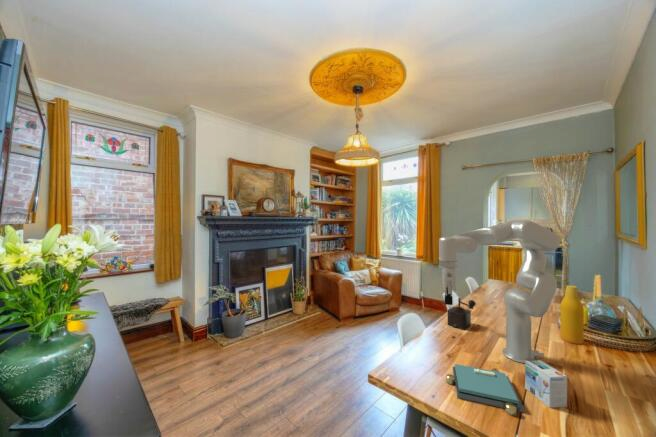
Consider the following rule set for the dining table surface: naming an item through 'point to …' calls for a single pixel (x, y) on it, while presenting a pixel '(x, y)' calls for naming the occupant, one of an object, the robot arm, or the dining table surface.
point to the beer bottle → (572, 317)
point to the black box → (460, 315)
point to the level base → (508, 406)
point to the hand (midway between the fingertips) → (448, 304)
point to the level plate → (484, 383)
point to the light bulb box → (546, 383)
